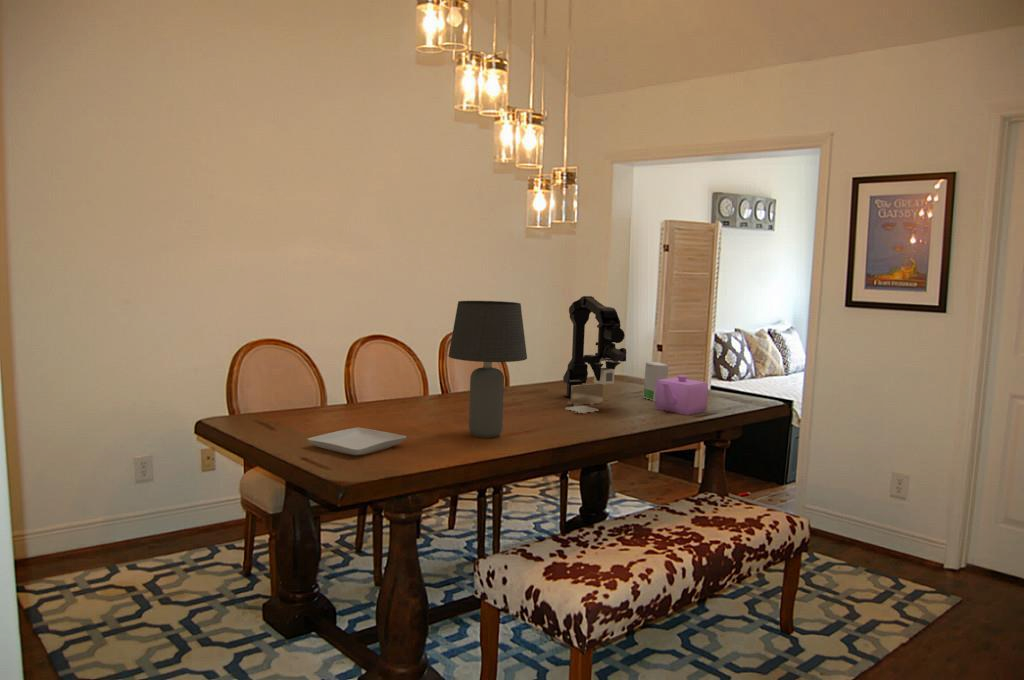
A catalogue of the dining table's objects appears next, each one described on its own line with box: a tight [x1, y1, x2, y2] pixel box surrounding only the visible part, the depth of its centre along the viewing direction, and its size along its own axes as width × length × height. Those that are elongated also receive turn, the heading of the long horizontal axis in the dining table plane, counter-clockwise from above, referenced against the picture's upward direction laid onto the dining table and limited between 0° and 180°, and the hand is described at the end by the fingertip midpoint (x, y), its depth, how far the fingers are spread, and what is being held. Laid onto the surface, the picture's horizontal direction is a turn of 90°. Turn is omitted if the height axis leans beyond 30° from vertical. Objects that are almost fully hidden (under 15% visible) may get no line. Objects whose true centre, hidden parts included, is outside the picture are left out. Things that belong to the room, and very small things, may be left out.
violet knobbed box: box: [654, 374, 709, 416], centre depth 299 cm, size 15×25×14 cm, turn 133°
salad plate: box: [306, 427, 407, 456], centre depth 225 cm, size 21×21×3 cm
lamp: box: [447, 300, 528, 439], centre depth 243 cm, size 25×25×43 cm
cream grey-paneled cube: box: [593, 367, 615, 385], centre depth 295 cm, size 6×6×6 cm
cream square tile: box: [565, 405, 600, 414], centre depth 293 cm, size 9×9×1 cm
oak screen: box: [567, 382, 604, 407], centre depth 306 cm, size 5×16×8 cm, turn 127°
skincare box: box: [642, 361, 669, 402], centre depth 322 cm, size 8×7×16 cm
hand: (603, 380), depth 295 cm, fingers closed on cream grey-paneled cube, 5 cm apart
